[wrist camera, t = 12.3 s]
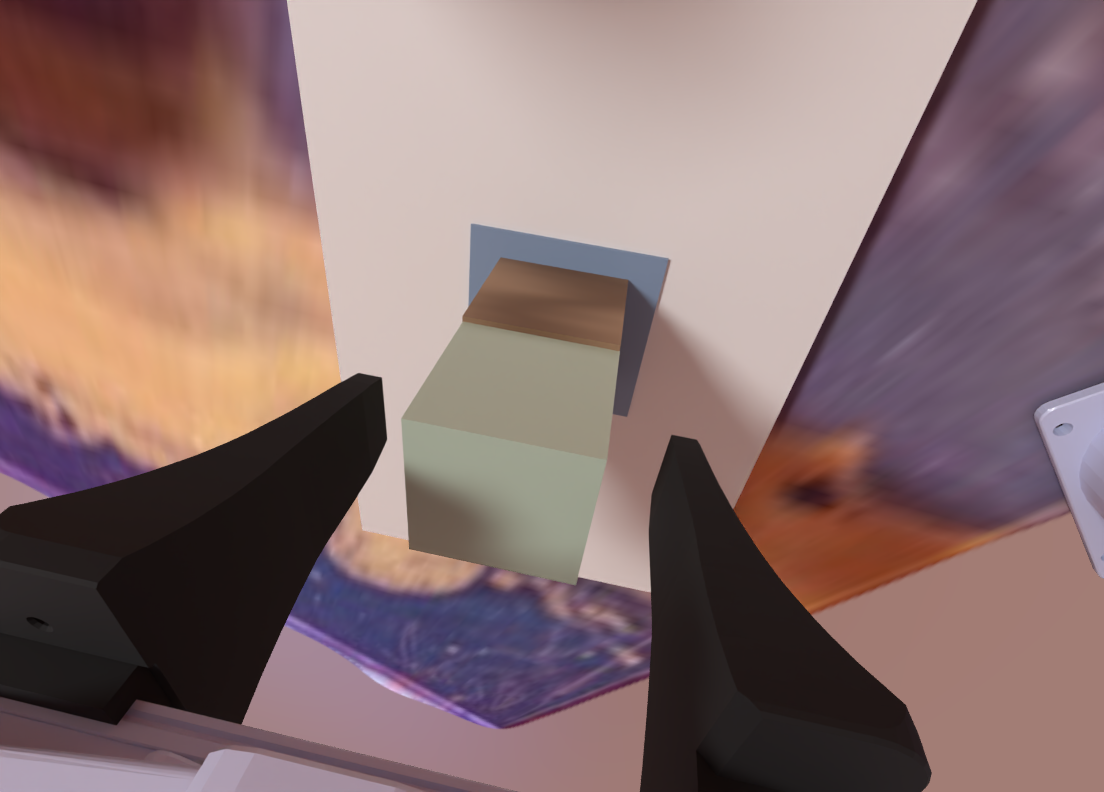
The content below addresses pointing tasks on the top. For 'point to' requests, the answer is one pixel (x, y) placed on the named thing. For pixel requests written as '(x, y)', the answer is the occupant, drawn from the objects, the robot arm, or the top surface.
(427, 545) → the sage block
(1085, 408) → the robot arm
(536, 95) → the white flat panel
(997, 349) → the top surface
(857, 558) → the top surface
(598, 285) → the walnut block
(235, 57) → the top surface
